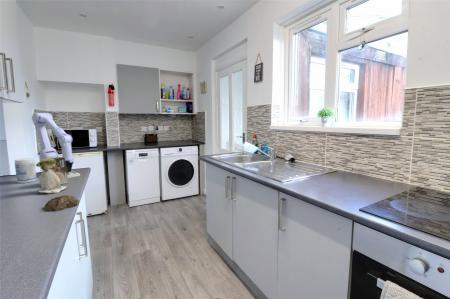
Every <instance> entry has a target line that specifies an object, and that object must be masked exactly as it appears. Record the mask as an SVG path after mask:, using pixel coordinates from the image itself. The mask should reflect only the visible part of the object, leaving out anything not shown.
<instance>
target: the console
mask: <svg viewBox="0 0 450 299" xmlns="http://www.w3.org/2000/svg"><path fill="white" fill-rule="evenodd" d="M80 176H81V173H79V172H77V171H74V170H73V169H72V170H71V172H67V177H68V179H71V178H74V177H80Z"/></svg>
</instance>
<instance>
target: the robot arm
mask: <svg viewBox="0 0 450 299" xmlns="http://www.w3.org/2000/svg"><path fill="white" fill-rule="evenodd" d="M31 120H32V123H33V125H34V127H35V129H36V132H37V136H38V139H39V142H40V145H41V150H40V151H39V152H38V154H39V161H41V160H42V159H48V158H58V157H59V154H58V152H57V150H56V149H55V148H53V147H52V143H51V142H50V139H49V135H48V132H47V129H46V126H49V127H50V129H52V133H53V134H54V135H55V137H57V139H58V140H57V141H58V142H59V143H58V144H59V146H60V147H61V154H62V156H61V157H63V158H65V163H66V169H67V171H68V172H69V171H71V170H72V171H73V164H74V160H75V159H76V158H75V157H73V151H72V150H73V148H72V142H73V139H74V138H73V137H72V135H71V134H68V133H66V132H65V131H64V129H63V128H62V127H61V126H60V127H59V126H58V125H57V123H56V122H55V121H54V119H53V115H52V113H50V112H33V113H32V115H31Z"/></svg>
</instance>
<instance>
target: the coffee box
mask: <svg viewBox="0 0 450 299" xmlns="http://www.w3.org/2000/svg"><path fill="white" fill-rule="evenodd" d="M51 159H55V160H56V162H59V164H58V165H56V166H53V167H52V168H51V170H52V171H53V172H54V173H55V174H56V175H57V176H58V177H59V179H60V183H58V184H59V185H60V186H62V185H64V184H69V178H68V177H67V170H66V163H65V158H63V156H60V157H59V156H58V158H51Z"/></svg>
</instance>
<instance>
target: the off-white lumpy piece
mask: <svg viewBox="0 0 450 299" xmlns="http://www.w3.org/2000/svg"><path fill="white" fill-rule="evenodd" d="M58 164H59V162H56V160H55V159H51V158H48V159H42V160H39V161H38V162H36V163H35V167H38V168H40V169H41V170H42V171H41V173H40V177H39V183H40V188H39V189H37V190H36V191H37V192H38V193H42V194H44V193H45V194H53V193H55V194H57V193H60V192H61V191H63V190H65V189H67V186H63V185H59V184H58V183H60V179H59V177H58V176H57V175H56V174H55V173H54V172H53V171H52V170H51V168H52V167H53V166H56V165H58Z"/></svg>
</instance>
